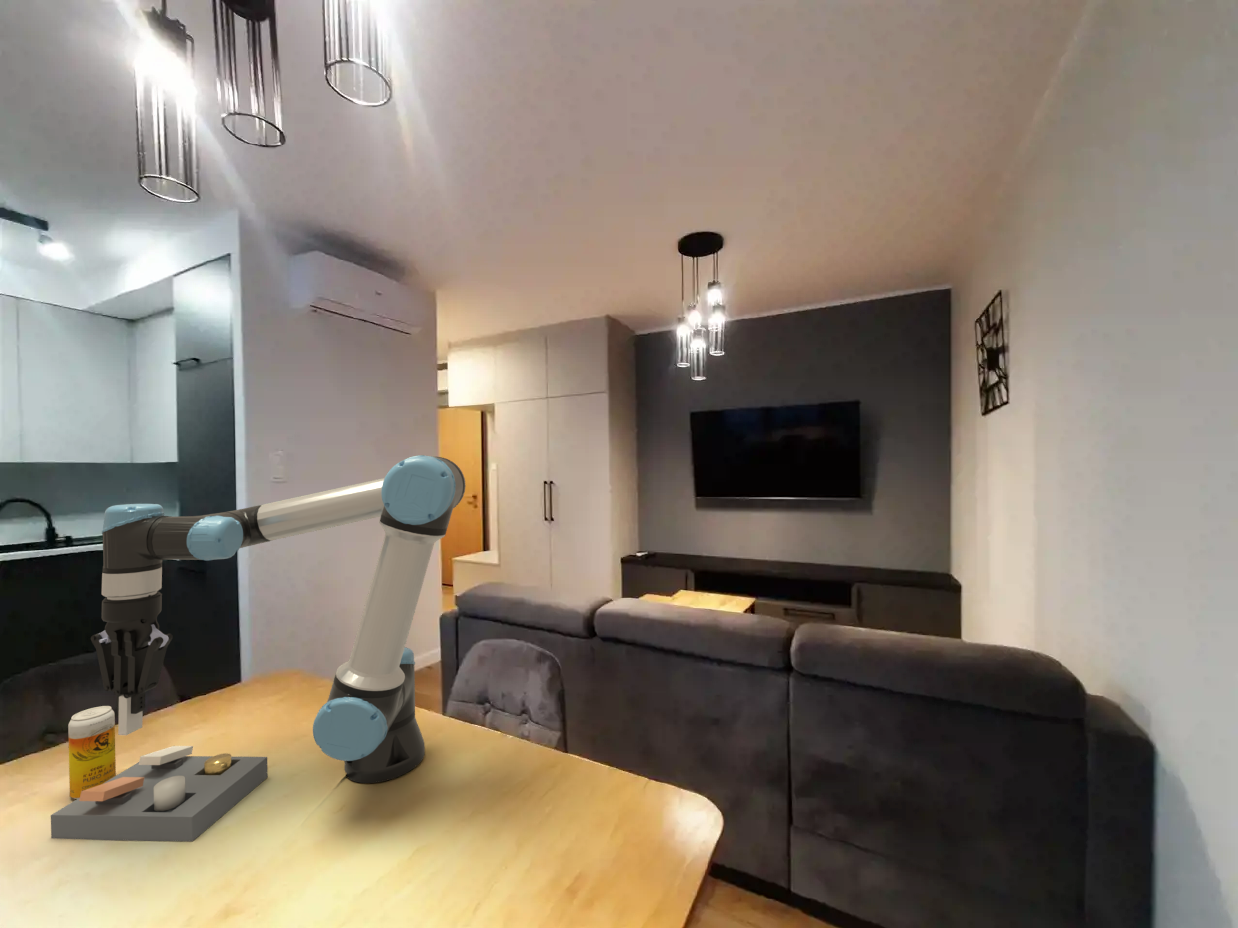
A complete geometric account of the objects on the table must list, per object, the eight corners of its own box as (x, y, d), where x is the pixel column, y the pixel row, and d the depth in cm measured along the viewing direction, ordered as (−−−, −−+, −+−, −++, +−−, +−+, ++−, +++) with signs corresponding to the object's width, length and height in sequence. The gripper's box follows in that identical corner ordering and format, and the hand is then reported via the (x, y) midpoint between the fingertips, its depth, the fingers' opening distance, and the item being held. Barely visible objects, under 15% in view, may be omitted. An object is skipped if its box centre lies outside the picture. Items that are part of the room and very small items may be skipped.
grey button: (191, 795, 89) (191, 775, 89) (170, 811, 85) (170, 790, 85) (169, 795, 90) (168, 775, 90) (147, 811, 86) (147, 790, 86)
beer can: (86, 804, 93) (84, 721, 93) (60, 800, 95) (59, 719, 94) (124, 783, 99) (123, 706, 99) (100, 780, 100) (98, 703, 100)
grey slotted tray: (267, 776, 101) (267, 751, 101) (192, 841, 84) (191, 810, 84) (149, 775, 102) (148, 750, 102) (51, 839, 85) (50, 808, 85)
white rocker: (191, 753, 101) (193, 745, 101) (159, 764, 94) (161, 756, 95) (172, 753, 101) (173, 745, 101) (138, 764, 94) (140, 756, 95)
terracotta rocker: (142, 785, 91) (144, 777, 91) (102, 801, 84) (104, 791, 85) (120, 785, 91) (122, 776, 92) (79, 800, 84) (81, 791, 85)
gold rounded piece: (236, 771, 99) (236, 753, 99) (219, 784, 95) (219, 765, 95) (216, 771, 100) (216, 753, 100) (199, 784, 96) (198, 765, 96)
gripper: (187, 590, 92) (185, 722, 92) (120, 587, 93) (118, 718, 93) (146, 601, 84) (143, 745, 85) (73, 598, 85) (71, 740, 86)
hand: (130, 730), depth 89 cm, fingers closed
